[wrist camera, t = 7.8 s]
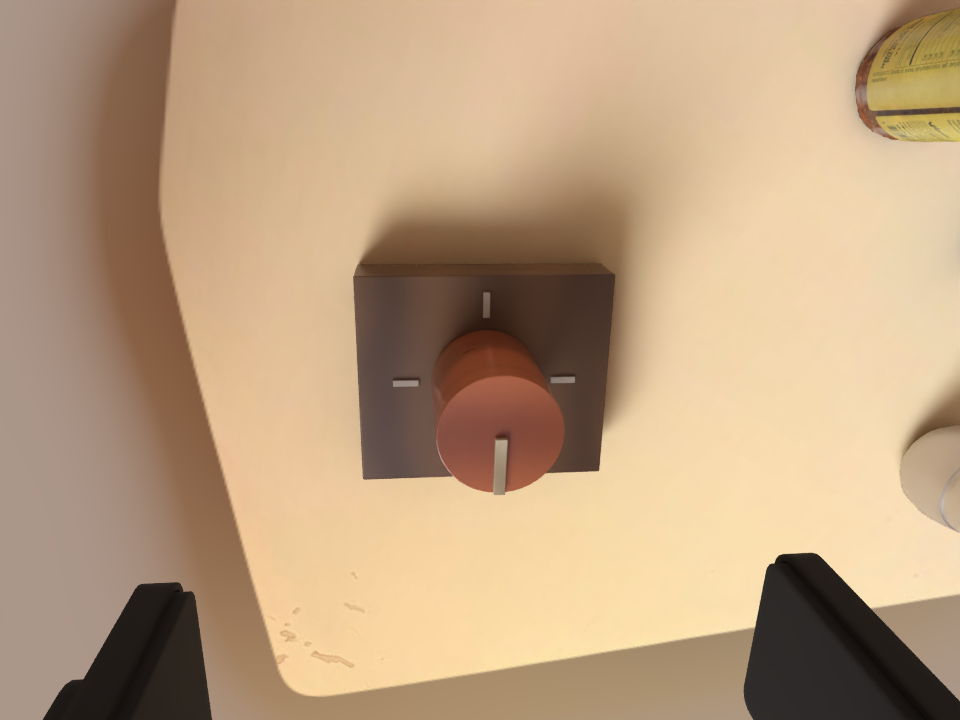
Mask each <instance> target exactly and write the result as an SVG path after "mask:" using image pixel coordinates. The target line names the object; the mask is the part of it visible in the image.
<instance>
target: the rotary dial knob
mask: <svg viewBox="0 0 960 720" xmlns="http://www.w3.org/2000/svg"><path fill="white" fill-rule="evenodd" d="M431 385H432V398H433V409H434V421H435V433H436V444H437V449H438V453H439V456H440V458H441V460H442V462H443V464H444V466H445V467H446V468H447V470H448V471H449V472H450V473H451V474H452V475H453V476H454V477H455V478H456V479H458V480H459V481H460V482H462V483H463V484H465V485H467V486H469V487H471V488H474V489H477V490H481V491H486V492H493V495H505V492H508V491H513V490H517V489H520V488H523V487H525V486H527V485H530V484H531V483H533V482H535V481H536V480H538V479H539V478H540V477H542V476H543V475H544V474H545V473H546V472H547V471H548V470H549V469H550V468H551V466H552V465H553V464H554V462H555V461H556V459H557V458H558V456H559V453H560V451H561V448H562V445H563V441H564V435H565V426H564V419H563V416H562V412H561V410H560V408H559V405H558V403H557V402H556V400H555V398H554V396H553V394H552V392H551V390H550V388H549V386H548V384H547V382H546V381H545V379H544V377H543V375H542V373H541V371H540V369H539V367H538V365H537V363H536V361H535V360H534V358H533V356H532V354H531V353H530V351H529V350H528V349H527V347H526V346H525V345H524V344H523V343H521V342H520V341H519V340H518V339H516V338H515V337H513V336H511V335H509V334H506V333H503V332H499V331H494V330H480V331H475V332H471V333H468V334H465V335H463V336H461V337H459V338H457V339H456V340H454V341H453V342H451V343H450V344H449V345H448V346H447V347H446V348H445V349H444V350H443V351H442V353H441V354H440V355H439V357H438V359H437V361H436V363H435V365H434V368H433V372H432V379H431Z"/></svg>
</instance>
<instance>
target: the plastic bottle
mask: <svg viewBox="0 0 960 720" xmlns="http://www.w3.org/2000/svg"><path fill="white" fill-rule="evenodd" d="M900 480H901V486H902V489H903V492H904V494H905V495H906V497H907V498H908V499H909V500H910V501H911V502H912V504H913V505H914V506H915V507H916V508H917V509H918V510H919V511H920V512H921V513H922V514H924V515H925V516H927V517H929V518H930V519H932V520H934V521H936V522H938V523H940V524H941V525H944V526H946V527H948V528H950V529H952V530H955V531H957V532H960V425H955V426H949V427H942V428H938V429H935V430H932V431H930V432H928V433H926V434H924V435H923V436H921V437H920V438H919V439H917V440H916V441H915V442H914V443H913V444H912V445H911V446H910V448H909V449H908V450H907V452H906V454H905V455H904V457H903V459H902V462H901V466H900Z"/></svg>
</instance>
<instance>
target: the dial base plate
mask: <svg viewBox="0 0 960 720" xmlns="http://www.w3.org/2000/svg"><path fill="white" fill-rule="evenodd" d="M353 282H354V302H355V323H356V344H357V365H358V385H359V406H360V427H361V447H362V468H363V479H364V480H365V479H392V478H420V477H448V476H453V475H452V474H451V473H450V472H449V471H448V470H447V468H446V467H445V466H444V464H443V462H442V460H441V458H440V456H439V453H438V449H437V444H436V433H435V421H434V409H433V398H432V385H431V379H432V372H433V368H434V365H435V363H436V361H437V359H438V357H439V355H440V354H441V353H442V351H443V350H444V349H445V348H446V347H447V346H448V345H449V344H450V343H451V342H453V341H454V340H456V339H457V338H459V337H461V336H463V335H465V334H468V333H471V332H475V331H480V330H494V331H499V332H503V333H506V334H509V335H511V336H513V337H515V338H516V339H518V340H519V341H520V342H521V343H523V344H524V345H525V346H526V347H527V349H528V350H529V351H530V353H531V354H532V356H533V358H534V360H535V361H536V363H537V365H538V367H539V369H540V371H541V373H542V375H543V377H544V379H545V381H546V382H547V384H548V386H549V388H550V390H551V392H552V394H553V396H554V398H555V400H556V402H557V403H558V405H559V408H560V410H561V412H562V416H563V419H564V426H565V435H564V441H563V445H562V448H561V451H560V453H559V456H558V458H557V459H556V461H555V462H554V464H553V465H552V466H551V468H550V469H549V470H548V471H547V472H546V473H560V472H588V471H599V465H600V453H601V441H602V429H603V417H604V405H605V393H606V381H607V369H608V356H609V344H610V332H611V320H612V308H613V296H614V284H615V274H614V273H612V272H611V271H610V270H608V269H607V268H606V267H604V266H603V265H602V264H427V265H357V268H356V271H355V274H354V277H353Z"/></svg>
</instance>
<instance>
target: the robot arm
mask: <svg viewBox="0 0 960 720" xmlns="http://www.w3.org/2000/svg"><path fill="white" fill-rule="evenodd" d="M744 698H745V703H746V706H747V709H748V711H749V713H750V715H751V716H752V718H753V720H960V701H959V700H958V699H957V698H956V697H955V696H954V695H953V694H952V693H951V692H950V691H949V690H948V689H947V688H946V686H945V685H944V684H943V683H942V682H941V681H940V680H939V679H938V678H937V677H936V676H935V675H934V674H933V673H932V672H931V671H930V670H929V669H928V668H927V667H926V666H925V665H924V664H923V663H922V662H921V661H920V659H919V658H918V657H916V655H915V654H914V653H913V652H912V651H911V650H910V649H909V648H908V647H907V646H906V645H905V644H904V643H903V642H902V641H901V640H900V639H899V638H898V637H897V636H896V635H895V634H894V632H893V631H892V630H891V629H890V628H889V627H888V626H887V625H886V624H885V623H884V622H883V621H882V620H881V619H880V618H879V617H878V616H877V615H876V614H875V613H874V612H873V611H872V610H871V609H870V608H869V606H868V605H867V604H866V603H865V602H864V601H863V600H862V599H861V598H860V597H859V596H858V595H857V594H856V593H855V592H854V591H853V590H852V589H851V588H850V587H849V586H848V585H847V584H846V583H845V582H844V581H843V579H842V578H841V577H840V576H839V575H838V574H837V573H836V572H835V571H834V570H833V569H832V568H831V567H830V566H829V565H828V564H827V563H826V562H825V561H824V560H823V559H822V558H821V557H820V556H819V555H817V554H815V553H798V554H782V555H779V556H778V557H777V559H776V561H775V563H774V564H770V565H769V566H768V567H767V570H766V575H765V580H764V585H763V590H762V595H761V601H760V606H759V611H758V616H757V621H756V627H755V632H754V637H753V642H752V647H751V652H750V658H749V663H748V668H747V673H746V678H745V684H744ZM43 720H212V717H211V709H210V702H209V695H208V688H207V680H206V673H205V666H204V658H203V651H202V644H201V638H200V629H199V622H198V615H197V607H196V600H195V595H194V594H193V592H191V591H190V592H183V588H182V586H181V584H180V583H178V582H177V583H176V582H174V583H154V584H141V585H138V586H137V588H136V589H135V590H134V592H133V594H132V596H131V598H130V599H129V601H128V603H127V604H126V606H125V608H124V610H123V611H122V613H121V615H120V617H119V619H118V620H117V622H116V624H115V625H114V627H113V629H112V630H111V632H110V634H109V636H108V638H107V639H106V641H105V643H104V644H103V647H102V648H101V650H100V652H99V653H98V655H97V657H96V658H95V660H94V662H93V664H92V665H91V667H90V669H89V671H88V672H87V674H86V676H85V678H84V679H83V680H72V681H70V682H69V683H67V684H66V685H65V686H64V687H63V688H62V690H61V691H60V692H59V694H58V695H57V697H56V699H55V700H54V702H53V704H52V705H51V707H50V709H49V710H48V712H47V714H46V715H45V717H44V719H43Z"/></svg>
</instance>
